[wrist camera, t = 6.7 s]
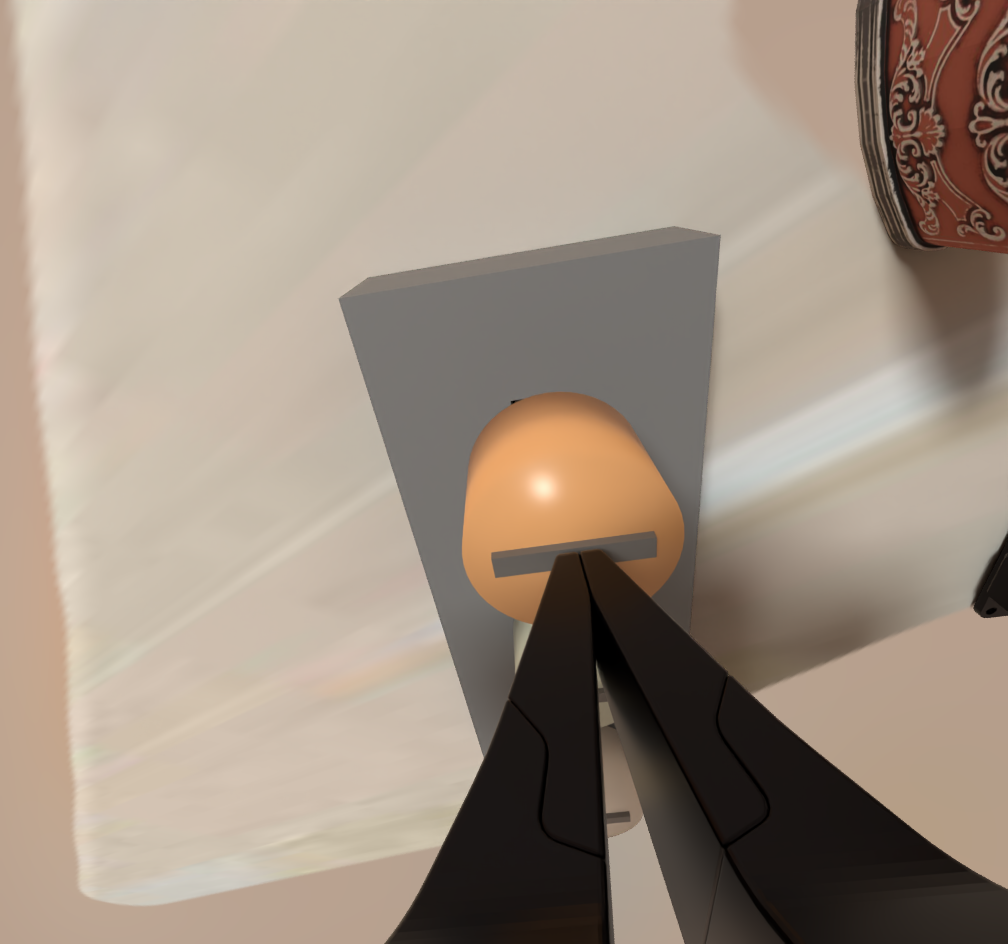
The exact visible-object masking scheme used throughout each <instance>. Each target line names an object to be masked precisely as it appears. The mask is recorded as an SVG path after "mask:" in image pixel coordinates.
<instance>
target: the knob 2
mask: <svg viewBox="0 0 1008 944" xmlns="http://www.w3.org/2000/svg"><path fill="white" fill-rule="evenodd" d="M601 742H602V757H603V773H604V788H605V804H606V819H607V835H608V838H609V837H613V836H616V835H619V834H621V833H624V832H626V831H628V830H629V829H631V828H633V827H634V826H635V825H637V824H638V822H639V821H640V820H641V818H642V815H643V811H642V808H641V805H640V802H639V799H638V796H637V792H636V789H635V786H634V783H633V780H632V777H631V774H630V770H629V767H628V764H627V761H626V758H625V755H624V752H623V749H622V745H621V742H620V739H619V736H618V733H617V730H616V729H614V728H611V727H609V726H604V727H601Z"/></svg>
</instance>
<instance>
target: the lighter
mask: <svg viewBox="0 0 1008 944" xmlns="http://www.w3.org/2000/svg"><path fill="white" fill-rule="evenodd" d="M855 35H856V37H855V93H856V103H857V115H858V126H859V137H860V145H861V150H862V154H863V158H864V162H865V166H866V170H867V174H868V179H869V183H870V187H871V191H872V195H873V198H874V200H875V203H876V205H877V207H878V210H879V212H880V215H881V217H882V220H883V222H884V225H885V227H886V229H887V232H888V234H889V237H890V238H891V239H892V240H893V242H894V243H895V244H896V245H899V246H902V247H905V248H909V249H917V250H924V251H933V250H943V249H945V248H948V247H956V248H964V249H973V250H981V251H989V252H997V253H1006V254H1008V0H858V4H857V9H856V33H855Z"/></svg>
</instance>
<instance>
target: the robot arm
mask: <svg viewBox="0 0 1008 944" xmlns="http://www.w3.org/2000/svg"><path fill="white" fill-rule="evenodd" d="M973 609H974V611H975V612H976V613H978V614H979V615H980V616H981V617H983V618H991V617H1000V616H1008V541H1007V543H1006V545H1005V547H1004V548H1003V550H1002V552H1001V554H1000V556H999V558H998V560H997V562H996V564H995V566H994V568H993V570H992V572H991V574H990V576H989V578H988V580H987V582H986V584H985V586H984V588H983V589H982V591H981V593H980V595H979V597H978V599H977V601H976V603H975V605H974V608H973ZM596 664H597V667H596ZM597 669H598V672H599V676H600V679H601V683H602V686H603V689H604V692H605V695H606V698H607V702H608V705H609V708H610V711H611V714H612V717H613V720H614V723H615V727H616V730H617V733H618V736H619V739H620V742H621V745H622V749H623V752H624V755H625V758H626V761H627V764H628V767H629V770H630V774H631V777H632V780H633V783H634V786H635V789H636V792H637V796H638V799H639V802H640V805H641V808H642V811H643V814H644V817H645V821H646V824H647V826H648V830H649V833H650V836H651V839H652V843H653V846H654V849H655V852H656V855H657V858H658V861H659V865H660V868H661V871H662V874H663V877H664V880H665V883H666V886H667V890H668V893H669V896H670V899H671V902H672V905H673V908H674V911H675V914H676V918H677V920H678V924H679V927H680V930H681V933H682V937H683V939H684V943H685V944H1008V889H1006V888H1004V887H1002V886H1000V885H998V884H996V883H994V882H992V881H990V880H989V879H987V878H985V877H983V876H982V875H979V874H978V873H976V872H974V871H972V870H971V869H969V868H968V867H966V866H965V865H963V864H961V863H960V862H958V861H957V860H955V859H953V858H952V857H951V856H949V855H948V854H946V853H945V852H943V851H942V850H940V849H939V848H938V847H936V846H935V845H933V844H932V843H931V842H929V841H928V840H927V839H925V838H924V837H923V836H921V835H920V834H919V833H918V832H916V831H915V830H914V829H912V828H911V827H910V826H909V825H907V824H906V823H905V822H904V821H902V820H901V819H900V818H898V816H896V815H895V814H894V813H893V812H891V811H890V810H889V809H887V808H886V807H885V806H884V805H883V804H881V803H880V802H879V801H878V800H876V799H875V798H874V797H873V796H871V795H870V794H869V793H868V792H866V791H865V790H864V789H863V788H861V787H860V786H859V785H858V784H857V783H855V782H854V781H853V780H851V779H850V778H849V777H848V776H847V775H845V774H844V773H843V772H841V771H840V770H839V769H838V768H837V767H835V766H834V765H833V764H832V763H830V762H829V761H828V760H827V759H825V758H824V757H823V756H822V755H820V754H819V753H818V752H817V751H816V750H814V749H813V748H812V747H811V746H809V745H808V744H807V743H806V742H805V741H804V740H802V739H801V738H800V737H798V735H796V734H795V733H794V732H793V731H792V730H790V729H789V728H788V727H787V726H786V725H784V724H783V723H782V722H781V721H780V720H778V719H777V718H776V717H775V716H774V715H773V714H772V713H771V712H770V711H769V710H767V708H765V707H764V706H763V705H762V704H761V703H760V702H759V701H758V700H757V699H755V697H754V696H752V695H751V694H750V693H749V692H748V691H747V690H746V689H745V688H744V687H743V686H742V685H741V684H740V683H739V682H738V681H737V680H736V679H735V678H734V677H733V676H731V675H729V676H728V672H727V671H726V670H725V669H724V668H723V667H722V666H721V665H720V664H719V663H718V662H717V661H716V660H715V659H714V658H713V657H712V656H711V655H710V654H709V653H708V652H707V651H706V650H705V649H704V648H703V647H702V646H701V645H700V644H698V643H697V642H696V641H695V640H694V639H693V638H692V637H691V636H690V635H689V634H688V633H687V632H686V631H685V630H684V629H683V628H682V627H681V626H680V625H679V624H678V623H677V622H676V621H675V620H674V619H673V618H672V617H671V616H670V615H668V614H667V613H666V612H665V611H664V610H663V609H662V608H661V607H660V606H659V605H658V604H657V603H656V602H655V601H654V600H653V599H652V598H651V597H650V596H649V595H648V594H647V593H646V592H645V591H644V590H643V589H642V588H641V587H640V586H638V585H637V584H636V583H635V582H634V581H633V580H632V579H631V578H630V577H629V576H628V575H627V574H626V573H625V572H624V571H623V570H622V569H621V568H620V567H619V566H618V565H617V564H616V563H615V562H614V561H613V560H612V559H611V558H610V557H608V556H607V555H606V554H605V553H604V552H603V551H602V550H600V549H593V550H585V551H581V552H580V554H578V553H577V552H570V553H562V554H558V555H557V556H556V558H555V561H554V564H553V567H552V569H551V572H550V575H549V578H548V581H547V584H546V587H545V590H544V593H543V595H542V598H541V601H540V604H539V607H538V610H537V613H536V616H535V619H534V622H533V624H532V627H531V630H530V633H529V636H528V639H527V642H526V645H525V648H524V650H523V653H522V656H521V659H520V662H519V665H518V668H517V671H516V674H515V677H514V679H513V682H512V685H511V688H510V691H509V694H508V700H507V701H506V702H505V705H504V708H503V710H502V713H501V716H500V719H499V722H498V725H497V727H496V730H495V732H494V735H493V738H492V740H491V743H490V745H489V748H488V751H487V753H486V755H485V757H484V760H483V762H482V764H481V766H480V768H479V771H478V773H477V775H476V777H475V779H474V782H473V784H472V786H471V788H470V790H469V792H468V794H467V796H466V798H465V800H464V802H463V804H462V806H461V808H460V810H459V812H458V815H457V817H456V819H455V821H454V823H453V825H452V827H451V829H450V831H449V833H448V835H447V837H446V839H445V841H444V843H443V845H442V847H441V849H440V851H439V853H438V855H437V857H436V859H435V861H434V863H433V865H432V867H431V869H430V871H429V873H428V875H427V877H426V879H425V881H424V883H423V885H422V887H421V889H420V891H419V893H418V894H417V896H416V898H415V900H414V901H413V903H412V905H411V907H410V908H409V910H408V911H407V913H406V914H405V916H404V918H403V919H402V921H401V922H400V924H399V925H398V927H397V928H396V929H395V931H394V932H393V933H392V935H391V936H390V937H389V938H388V940H387V941H386V943H385V944H615V943H614V929H613V913H612V898H611V883H610V866H609V850H608V835H607V819H606V804H605V788H604V773H603V757H602V742H601V726H600V711H599V695H598V680H597Z"/></svg>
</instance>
